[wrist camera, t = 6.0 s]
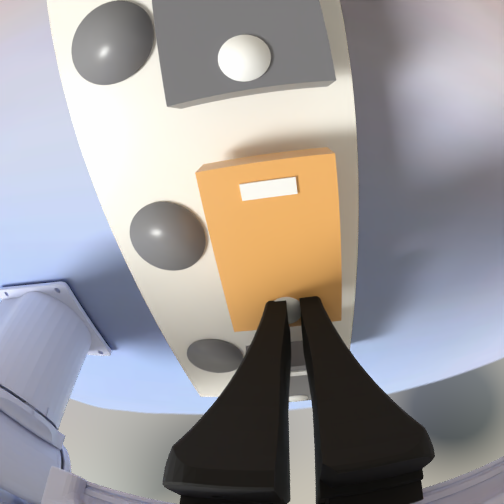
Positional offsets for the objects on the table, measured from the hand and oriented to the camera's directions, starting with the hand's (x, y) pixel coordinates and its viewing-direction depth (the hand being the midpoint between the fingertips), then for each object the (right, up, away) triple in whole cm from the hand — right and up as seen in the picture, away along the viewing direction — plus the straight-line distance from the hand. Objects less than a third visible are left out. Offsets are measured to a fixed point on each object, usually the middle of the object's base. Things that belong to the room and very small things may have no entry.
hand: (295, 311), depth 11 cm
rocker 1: (-2, +9, -6) cm, 11 cm away
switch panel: (-2, +3, +5) cm, 6 cm away
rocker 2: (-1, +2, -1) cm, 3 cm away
